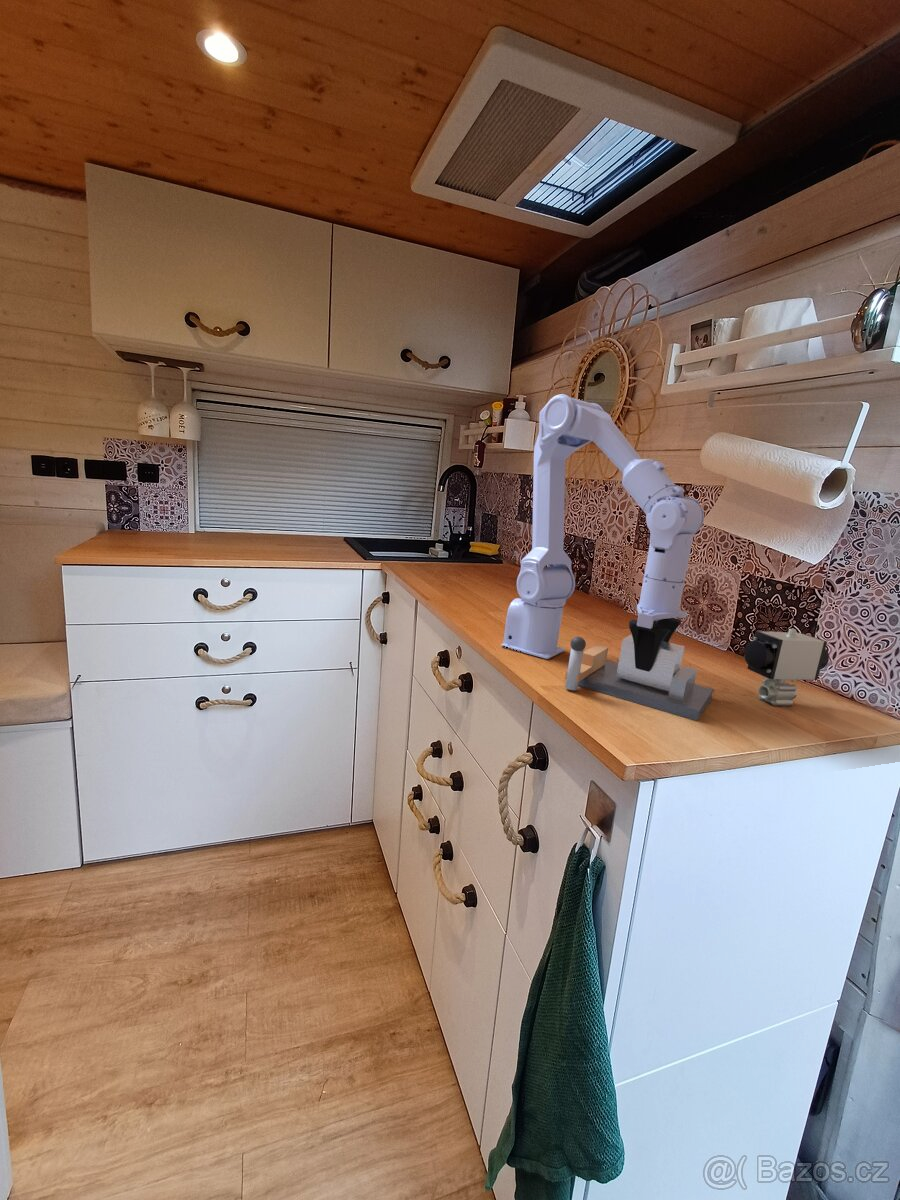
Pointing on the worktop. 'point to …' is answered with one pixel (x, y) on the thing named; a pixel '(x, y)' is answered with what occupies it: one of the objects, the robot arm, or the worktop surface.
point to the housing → (662, 667)
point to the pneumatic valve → (785, 662)
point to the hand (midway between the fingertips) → (647, 665)
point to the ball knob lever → (583, 662)
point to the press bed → (654, 691)
